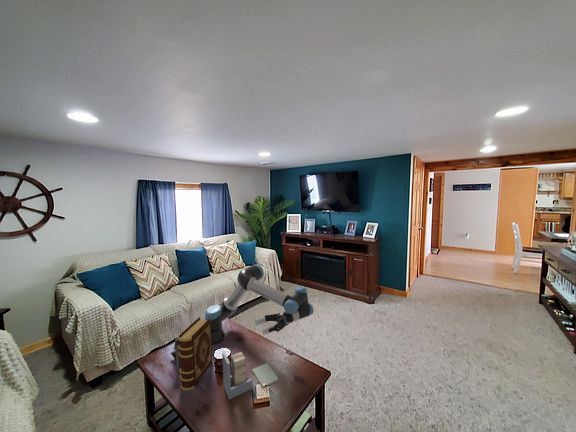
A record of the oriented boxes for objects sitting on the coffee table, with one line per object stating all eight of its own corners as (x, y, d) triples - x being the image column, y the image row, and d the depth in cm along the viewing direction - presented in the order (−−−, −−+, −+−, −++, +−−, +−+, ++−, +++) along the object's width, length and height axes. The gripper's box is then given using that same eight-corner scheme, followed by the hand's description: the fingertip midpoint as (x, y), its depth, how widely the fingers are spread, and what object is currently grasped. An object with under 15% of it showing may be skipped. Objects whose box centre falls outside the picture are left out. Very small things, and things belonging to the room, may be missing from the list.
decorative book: (191, 391, 127) (188, 339, 124) (178, 389, 129) (175, 338, 126) (212, 362, 149) (210, 317, 146) (201, 360, 151) (199, 316, 148)
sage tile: (252, 370, 142) (252, 369, 142) (266, 364, 147) (266, 363, 147) (262, 387, 129) (262, 386, 129) (278, 380, 134) (278, 378, 134)
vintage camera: (185, 352, 160) (182, 324, 158) (194, 362, 149) (192, 332, 147) (170, 359, 153) (167, 330, 151) (178, 371, 142) (176, 340, 140)
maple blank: (232, 386, 131) (230, 355, 129) (242, 381, 134) (241, 351, 132) (235, 393, 126) (234, 362, 124) (246, 388, 129) (245, 358, 127)
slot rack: (223, 387, 130) (222, 353, 128) (246, 377, 137) (245, 344, 135) (229, 399, 122) (227, 363, 120) (252, 388, 129) (251, 354, 127)
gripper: (301, 329, 137) (267, 343, 128) (283, 315, 160) (253, 325, 150) (299, 317, 137) (265, 329, 128) (281, 304, 159) (252, 314, 150)
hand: (259, 327), depth 139 cm, fingers open, 13 cm apart
